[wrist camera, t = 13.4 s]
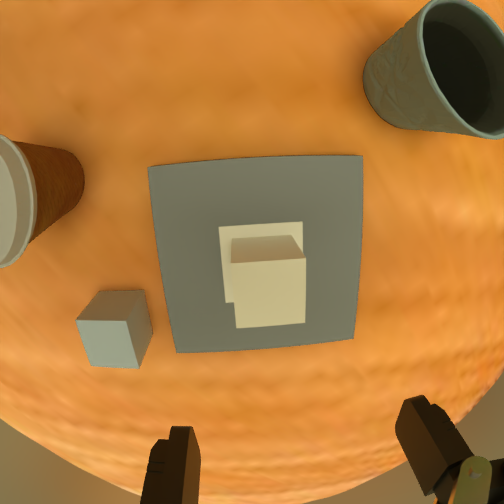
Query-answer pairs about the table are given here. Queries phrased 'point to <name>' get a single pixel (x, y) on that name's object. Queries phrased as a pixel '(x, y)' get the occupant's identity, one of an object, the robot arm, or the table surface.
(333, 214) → the board
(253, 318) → the cream block
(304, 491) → the table surface
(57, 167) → the disposable coffee cup
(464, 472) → the robot arm
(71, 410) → the table surface
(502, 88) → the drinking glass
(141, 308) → the blue grey block
